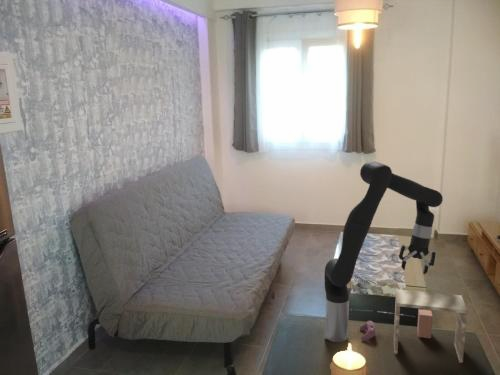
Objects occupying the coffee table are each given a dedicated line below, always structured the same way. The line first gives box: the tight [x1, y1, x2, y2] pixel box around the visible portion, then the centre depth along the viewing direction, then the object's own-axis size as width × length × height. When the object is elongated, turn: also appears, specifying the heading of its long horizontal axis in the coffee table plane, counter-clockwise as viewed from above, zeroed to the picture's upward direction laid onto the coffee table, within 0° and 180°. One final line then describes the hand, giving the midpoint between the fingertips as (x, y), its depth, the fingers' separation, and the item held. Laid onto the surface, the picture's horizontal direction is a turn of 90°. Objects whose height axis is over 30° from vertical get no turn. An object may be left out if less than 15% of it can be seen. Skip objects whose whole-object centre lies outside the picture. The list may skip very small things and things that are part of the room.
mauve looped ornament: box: [359, 320, 377, 342], centre depth 188 cm, size 10×5×7 cm, turn 171°
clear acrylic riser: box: [393, 288, 468, 364], centre depth 176 cm, size 24×13×21 cm, turn 74°
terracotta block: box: [416, 308, 434, 339], centre depth 188 cm, size 5×5×10 cm
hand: (413, 271), depth 195 cm, fingers open, 8 cm apart
